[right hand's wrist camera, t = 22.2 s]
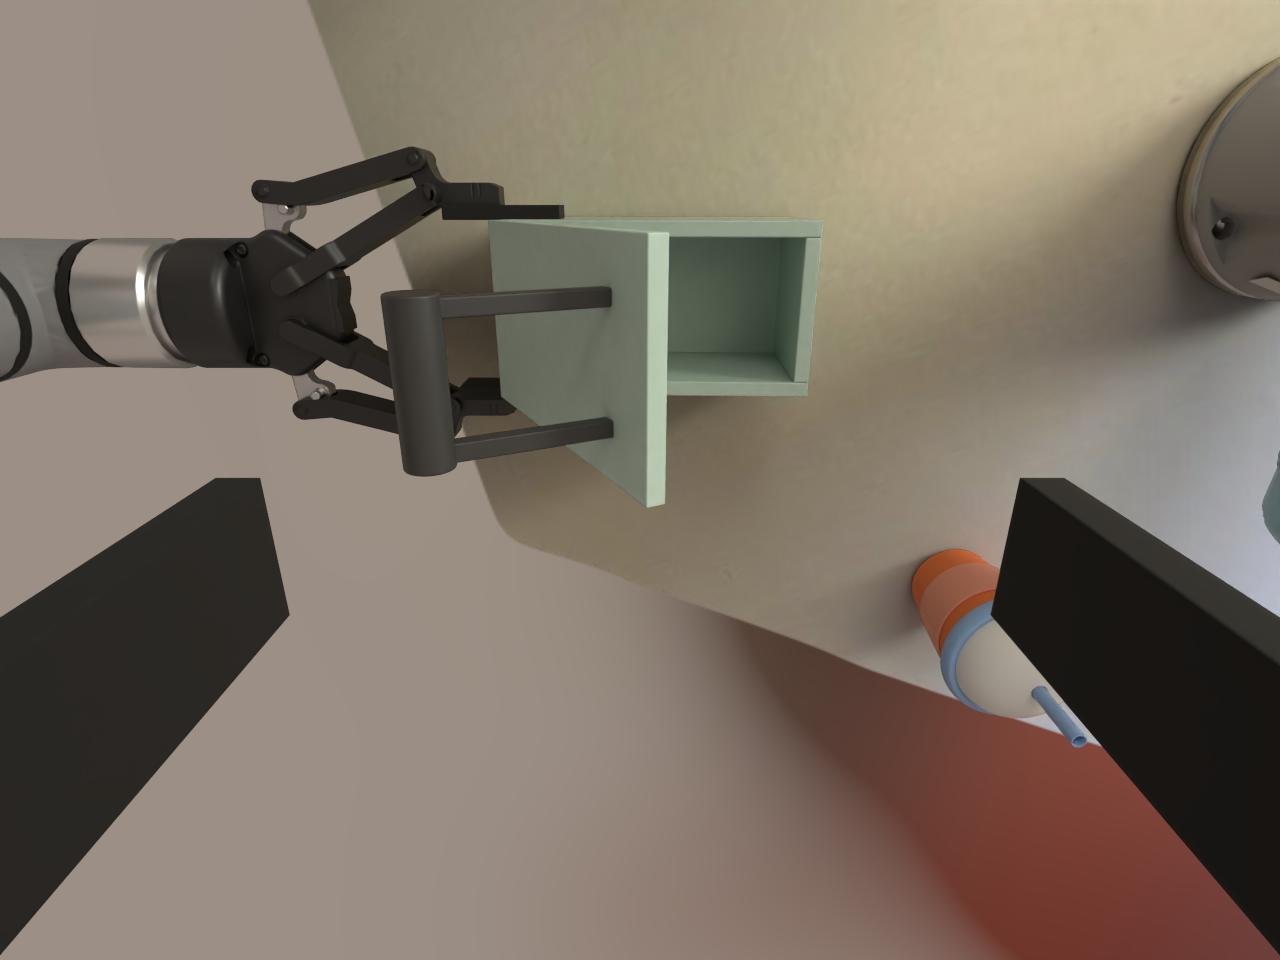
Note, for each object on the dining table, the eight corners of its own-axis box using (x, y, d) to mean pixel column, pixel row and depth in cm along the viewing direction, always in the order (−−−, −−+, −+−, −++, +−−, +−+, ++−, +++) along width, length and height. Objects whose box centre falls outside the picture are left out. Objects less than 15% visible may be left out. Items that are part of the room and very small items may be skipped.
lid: (670, 232, 23) (389, 237, 19) (665, 504, 26) (428, 555, 22) (502, 219, 37) (326, 221, 34) (514, 395, 41) (356, 414, 37)
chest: (794, 216, 46) (823, 220, 37) (782, 362, 49) (807, 397, 40) (530, 216, 46) (497, 219, 38) (538, 359, 50) (509, 394, 41)
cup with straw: (884, 628, 58) (982, 800, 41) (902, 529, 55) (1018, 673, 38) (992, 631, 58) (1134, 804, 41) (1018, 533, 55) (1184, 677, 38)
